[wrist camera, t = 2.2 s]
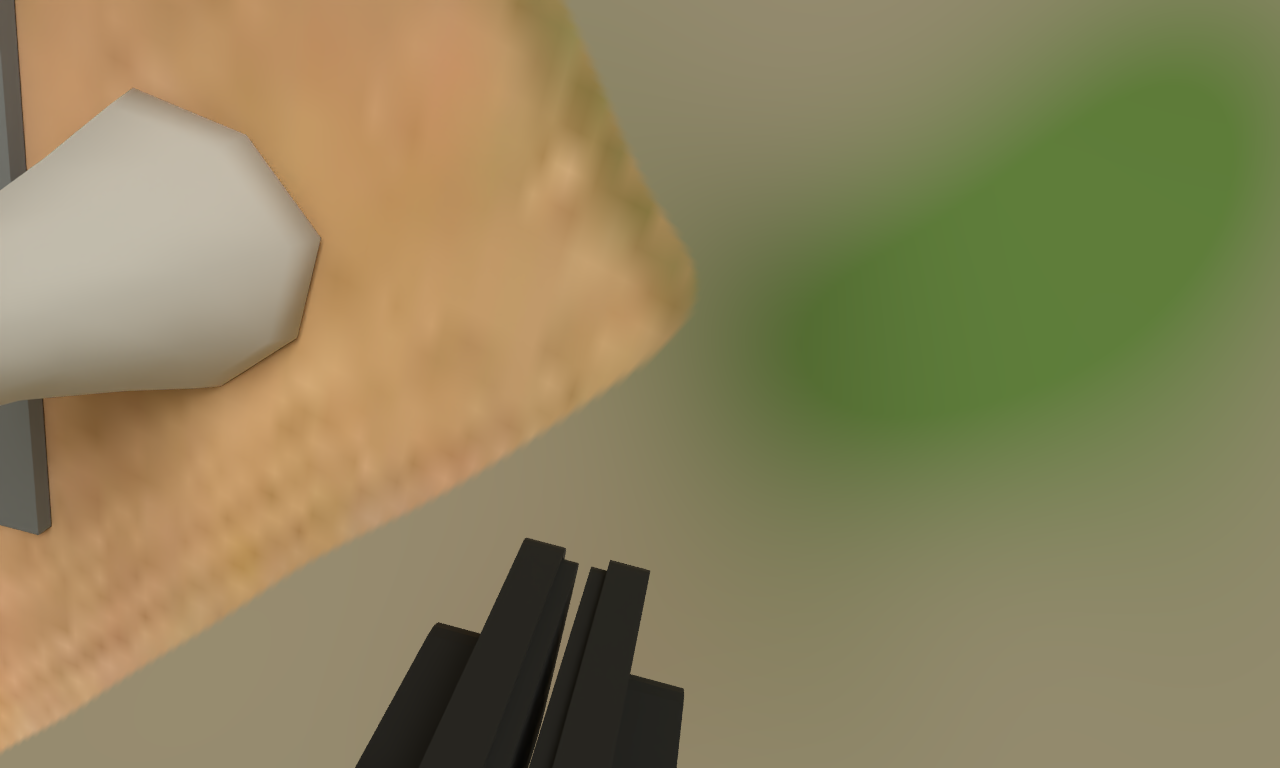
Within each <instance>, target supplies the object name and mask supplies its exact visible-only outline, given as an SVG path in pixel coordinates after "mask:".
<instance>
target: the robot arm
mask: <svg viewBox="0 0 1280 768" xmlns="http://www.w3.org/2000/svg"><path fill="white" fill-rule="evenodd" d="M565 553H566V548H563V547H559V546H556V545H552V544H548V543H545V542H540V541H537V540H533V539H529V538H525V540H524V541H523V543H522V545H521V548H520V550H519V552H518V554H517V556H516V558H515V560H514V563H513V565H512V567H511V569H510V571H509V574H508V576H507V578H506V580H505V582H504V584H503V586H502V589H501V591H500V593H499V595H498V597H497V599H496V602H495V604H494V606H493V608H492V610H491V612H490V615H489V617H488V619H487V621H486V623H485V625H484V628H483V630H482V632H481V634H479V633H476V632H472V631H468V630H465V629H461V628H457V627H454V626H450V625H446V624H442V623H439V622H438V623H437V624H436V625H434V626H433V628H432V630H431V631H430V633H429V634H428V636H427V638H426V640H425V641H424V643H423V645H422V647H421V649H420V650H419V652H418V654H417V656H416V658H415V660H414V662H413V663H412V665H411V667H410V669H409V671H408V672H407V674H406V676H405V678H404V680H403V681H402V683H401V685H400V687H399V689H398V691H397V692H396V694H395V696H394V698H393V700H392V701H391V703H390V705H389V707H388V709H387V711H386V712H385V714H384V716H383V718H382V720H381V722H380V723H379V725H378V727H377V729H376V731H375V732H374V734H373V736H372V738H371V740H370V742H369V744H368V745H367V747H366V749H365V751H364V753H363V754H362V756H361V758H360V760H359V762H358V764H357V765H356V767H355V768H528V766H529V763H530V766H529V768H677V758H678V749H679V739H680V730H681V721H682V711H683V702H684V689H683V688H679V687H676V686H672V685H668V684H665V683H661V682H657V681H654V680H650V679H646V678H642V677H639V676H635V675H631V674H630V671H631V666H632V661H633V655H634V651H635V646H636V641H637V636H638V631H639V626H640V620H641V615H642V610H643V605H644V600H645V595H646V590H647V585H648V580H649V574H650V571H649V570H646V569H642V568H639V567H635V566H631V565H627V564H624V563H620V562H616V561H612V560H610V562H609V566H608V570H607V571H605V570H602V569H598V568H594V567H591V569H590V573H589V576H588V579H587V582H586V585H585V589H584V592H583V596H582V598H581V602H580V605H579V608H578V611H577V614H576V618H575V621H574V624H573V627H572V631H571V634H570V637H569V640H568V644H567V647H566V650H565V653H564V657H563V660H562V663H561V666H560V669H559V672H558V676H557V679H556V682H555V685H554V688H553V692H552V695H551V698H550V701H549V705H548V708H547V711H546V714H545V717H544V721H543V724H542V727H541V730H540V734H539V729H540V726H541V723H542V719H543V715H544V711H545V707H546V702H547V698H548V694H549V690H550V685H551V681H552V677H553V672H554V668H555V664H556V659H557V655H558V651H559V647H560V643H561V638H562V634H563V630H564V626H565V621H566V617H567V612H568V609H569V604H570V600H571V596H572V591H573V587H574V583H575V578H576V574H577V570H578V565H579V564H578V563H575V562H572V561H568V560H564V558H565ZM538 734H539V737H538ZM537 737H538V740H537ZM536 741H537V743H536ZM535 744H536V747H535ZM534 747H535V750H534ZM533 750H534V753H533ZM532 753H533V756H532ZM531 757H532V759H531ZM530 760H531V762H530Z"/></svg>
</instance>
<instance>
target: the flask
mask: <svg viewBox="0 0 1280 768" xmlns="http://www.w3.org/2000/svg"><path fill="white" fill-rule="evenodd" d="M320 239H321V237H320V236H319V235H318V233H317V232H316V230H315V229H314V228H313V226H312V225H311V224H310V222H309V221H308V219H307V218H306V217H305V215H304V214H303V213H302V211H301V210H300V208H299V207H298V206H297V204H296V203H295V202H294V200H293V199H292V197H291V196H290V195H289V193H288V192H287V190H286V189H285V188H284V186H283V185H282V184H281V182H280V181H279V179H278V178H277V177H276V175H275V174H274V173H273V171H272V170H271V168H270V167H269V166H268V164H267V163H266V161H265V160H264V159H263V157H262V156H261V155H260V153H259V152H258V150H257V149H256V148H255V146H254V145H253V144H252V142H251V141H250V139H249V138H248V137H247V135H245V134H242V133H240V132H238V131H235V130H233V129H230V128H228V127H226V126H223V125H221V124H219V123H216V122H214V121H211V120H209V119H207V118H204V117H202V116H199V115H197V114H195V113H192V112H190V111H187V110H185V109H183V108H180V107H178V106H175V105H173V104H171V103H168V102H166V101H163V100H161V99H159V98H156V97H154V96H152V95H149V94H147V93H144V92H142V91H140V90H137V89H135V88H132V89H130V90H129V91H128V92H126V93H125V94H124V95H122V96H121V97H120V98H118V99H117V100H116V101H114V102H113V103H111V104H110V105H109V106H108V107H106V108H105V109H104V110H103V111H101V112H100V113H99V114H98V115H97V116H95V117H94V118H93V119H92V120H90V121H89V122H88V123H87V124H86V125H84V126H83V127H82V128H81V129H79V130H78V131H77V132H76V133H74V134H73V135H72V136H71V137H70V138H68V139H67V140H66V141H65V142H63V143H62V144H61V145H60V146H59V147H57V148H56V149H55V150H54V151H52V152H51V153H50V154H49V155H48V156H46V157H45V158H44V159H42V160H41V161H40V162H38V163H37V164H36V165H34V166H33V167H31V168H30V169H29V170H27V171H26V172H25V173H23V174H22V175H21V176H19V177H18V178H16V179H15V180H14V181H12V182H11V183H10V184H8V185H7V186H6V187H4V188H3V189H1V190H0V406H1V405H5V404H8V403H12V402H16V401H20V400H29V399H41V398H52V397H63V396H75V395H86V394H97V393H109V392H120V391H140V390H166V389H192V388H206V387H217V386H222V385H223V384H225V383H227V382H228V381H230V380H231V379H233V378H234V377H236V376H238V375H239V374H241V373H242V372H244V371H245V370H247V369H249V368H250V367H252V366H253V365H255V364H256V363H258V362H260V361H261V360H263V359H264V358H266V357H267V356H269V355H271V354H272V353H274V352H275V351H277V350H279V349H280V348H282V347H283V346H285V345H286V344H288V343H290V342H291V341H293V340H294V339H296V338H297V337H298V332H299V328H300V324H301V320H302V316H303V311H304V307H305V303H306V299H307V294H308V290H309V286H310V282H311V277H312V273H313V269H314V265H315V261H316V256H317V252H318V248H319V244H320Z"/></svg>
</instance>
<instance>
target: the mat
mask: <svg viewBox="0 0 1280 768" xmlns="http://www.w3.org/2000/svg"><path fill="white" fill-rule="evenodd" d="M25 172H26V163H25V149H24V134H23V120H22V106H21V92H20V78H19V64H18V50H17V36H16V21H15V7H14V0H0V190H1V189H3V188H4V187H6V186H7V185H8V184H10V183H11V182H12V181H14V180H15V179H16V178H18V177H19V176H21V175H22V174H23V173H25ZM0 525H2V526H6V527H10V528H13V529H17V530H21V531H25V532H29V533H33V534H37V535H39V534H41V533H42V532H43V531H45V530H46V529H48V528H49V527H51V516H50V502H49V488H48V473H47V459H46V445H45V431H44V417H43V403H42V398H41V399H29V400H20V401H16V402H12V403H8V404H5V405H1V406H0Z"/></svg>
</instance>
